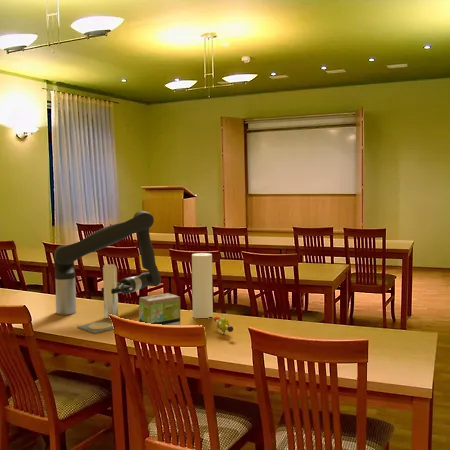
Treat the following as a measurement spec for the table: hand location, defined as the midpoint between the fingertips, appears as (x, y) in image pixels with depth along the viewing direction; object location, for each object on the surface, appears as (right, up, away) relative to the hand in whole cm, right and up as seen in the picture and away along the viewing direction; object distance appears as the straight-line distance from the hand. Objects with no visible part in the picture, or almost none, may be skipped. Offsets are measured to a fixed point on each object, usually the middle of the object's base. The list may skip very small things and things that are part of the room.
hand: (107, 291), depth 237 cm
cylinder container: (+44, -13, +3) cm, 46 cm away
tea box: (+27, -15, -19) cm, 36 cm away
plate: (0, -14, -14) cm, 20 cm away
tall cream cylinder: (+1, -13, +3) cm, 13 cm away
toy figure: (+54, -15, -26) cm, 62 cm away
